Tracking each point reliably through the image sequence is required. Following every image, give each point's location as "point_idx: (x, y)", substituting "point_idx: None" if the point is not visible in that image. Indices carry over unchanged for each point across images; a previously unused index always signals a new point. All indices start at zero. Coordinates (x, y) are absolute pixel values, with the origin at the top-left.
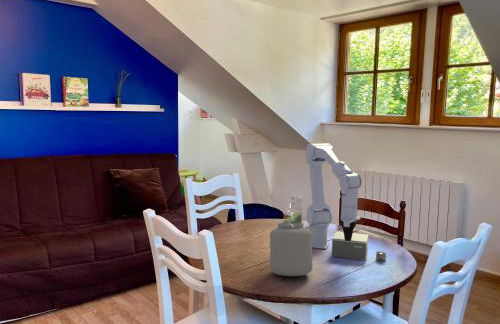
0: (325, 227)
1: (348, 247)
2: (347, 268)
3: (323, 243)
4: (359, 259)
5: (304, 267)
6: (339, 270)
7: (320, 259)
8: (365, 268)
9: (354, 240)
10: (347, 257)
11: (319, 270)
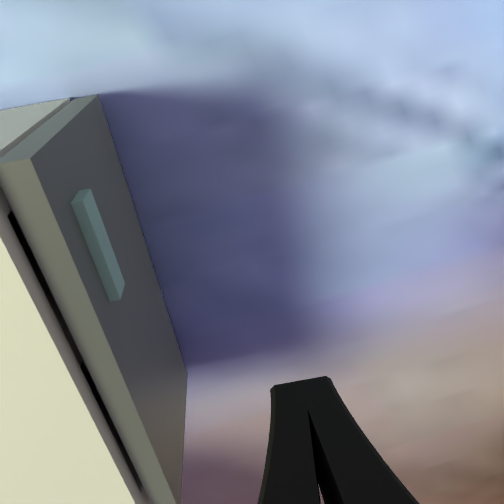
0: None
1: (137, 331)
2: (390, 194)
3: None
4: None
5: None
6: (458, 235)
7: None
8: (319, 34)
9: (51, 348)
10: (152, 269)
11: (498, 343)
